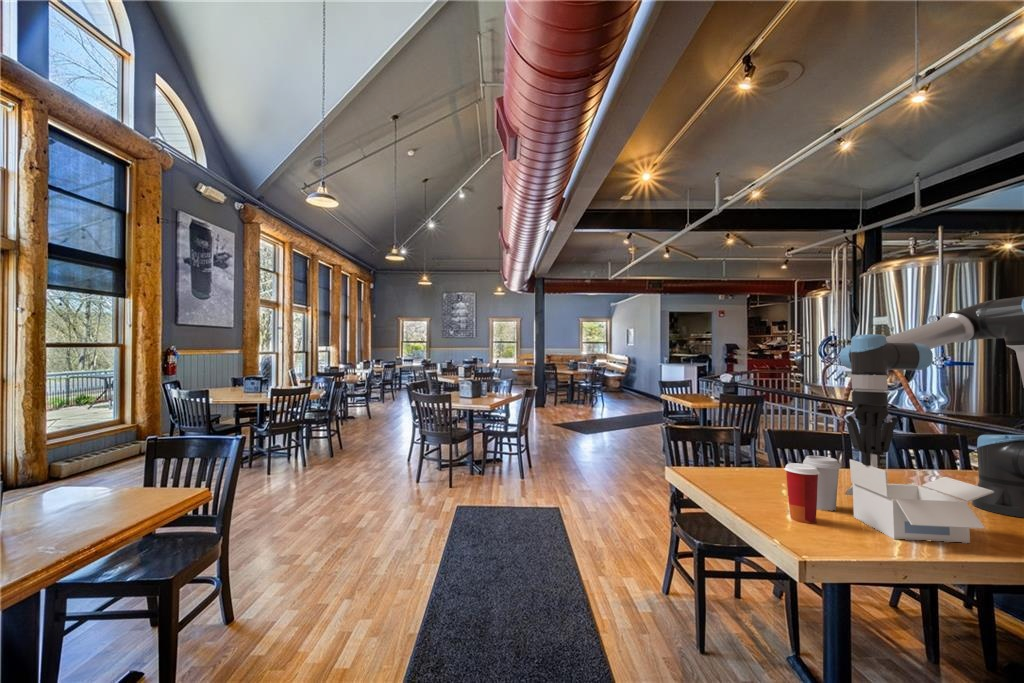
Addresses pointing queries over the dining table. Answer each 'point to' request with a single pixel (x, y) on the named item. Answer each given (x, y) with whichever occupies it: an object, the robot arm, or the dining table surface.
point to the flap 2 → (957, 489)
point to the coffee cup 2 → (825, 480)
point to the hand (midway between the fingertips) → (871, 477)
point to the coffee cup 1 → (802, 491)
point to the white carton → (914, 513)
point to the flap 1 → (869, 477)
